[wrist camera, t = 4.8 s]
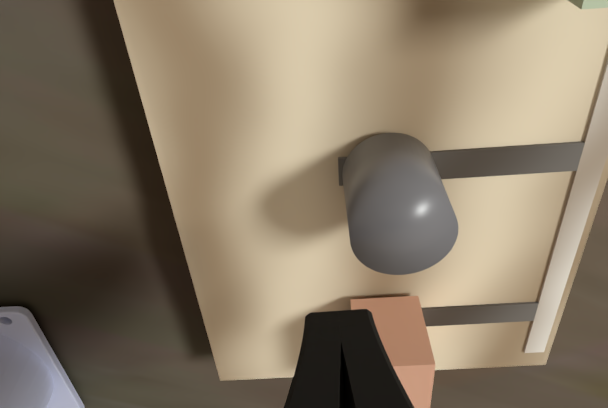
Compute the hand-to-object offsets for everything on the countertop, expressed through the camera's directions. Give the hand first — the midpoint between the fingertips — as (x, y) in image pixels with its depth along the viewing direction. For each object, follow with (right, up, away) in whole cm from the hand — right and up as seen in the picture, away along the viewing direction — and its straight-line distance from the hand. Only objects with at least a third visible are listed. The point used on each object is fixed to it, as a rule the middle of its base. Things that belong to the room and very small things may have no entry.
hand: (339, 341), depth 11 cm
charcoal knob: (+2, +4, +4) cm, 6 cm away
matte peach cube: (+2, -2, +9) cm, 9 cm away
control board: (+2, +5, +6) cm, 8 cm away
